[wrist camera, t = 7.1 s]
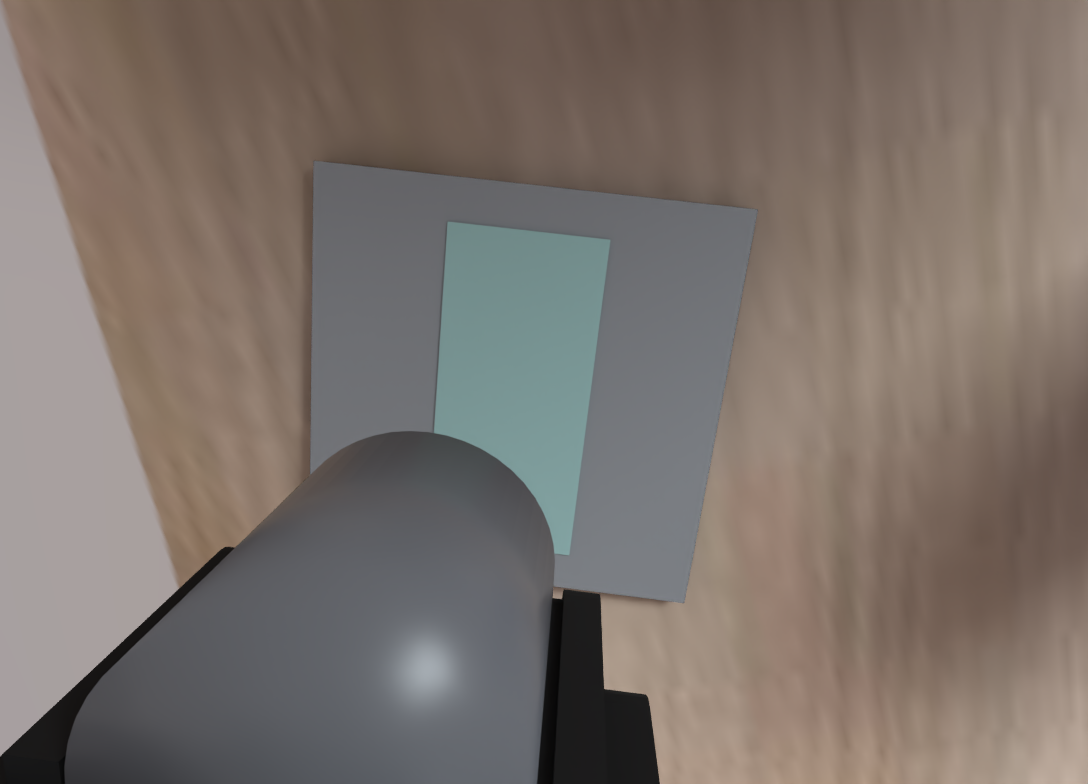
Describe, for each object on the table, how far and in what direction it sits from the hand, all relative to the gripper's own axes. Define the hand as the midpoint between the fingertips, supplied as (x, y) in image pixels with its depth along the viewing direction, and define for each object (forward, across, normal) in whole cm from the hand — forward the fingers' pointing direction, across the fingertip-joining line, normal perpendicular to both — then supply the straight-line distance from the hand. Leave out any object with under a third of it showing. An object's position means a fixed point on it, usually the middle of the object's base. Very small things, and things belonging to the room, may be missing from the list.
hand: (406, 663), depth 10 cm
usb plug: (0, 0, +1) cm, 1 cm away
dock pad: (+14, 0, 0) cm, 14 cm away
